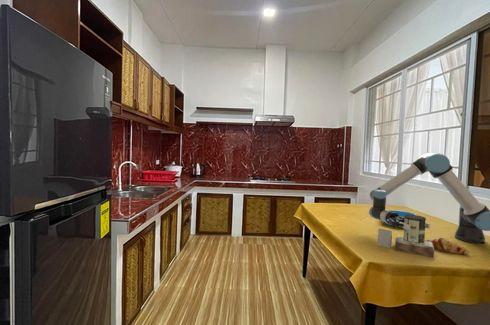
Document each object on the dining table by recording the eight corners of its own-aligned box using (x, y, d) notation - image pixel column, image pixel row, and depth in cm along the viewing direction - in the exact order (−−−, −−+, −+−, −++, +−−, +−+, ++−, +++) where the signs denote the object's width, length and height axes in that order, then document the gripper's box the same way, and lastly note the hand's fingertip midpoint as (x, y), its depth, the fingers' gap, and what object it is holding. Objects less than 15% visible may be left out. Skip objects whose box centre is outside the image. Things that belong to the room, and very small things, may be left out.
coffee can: (419, 239, 154) (420, 215, 153) (428, 245, 144) (429, 219, 143) (400, 237, 156) (401, 214, 155) (407, 243, 146) (408, 218, 145)
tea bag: (390, 248, 152) (391, 231, 152) (377, 245, 156) (378, 229, 156) (391, 247, 155) (392, 230, 155) (378, 244, 159) (379, 227, 159)
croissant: (469, 260, 147) (470, 246, 150) (468, 256, 140) (470, 241, 143) (423, 249, 162) (425, 236, 164) (421, 245, 155) (423, 231, 157)
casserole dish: (415, 231, 189) (416, 221, 189) (381, 226, 201) (381, 216, 201) (416, 220, 220) (416, 212, 220) (385, 216, 232) (386, 208, 232)
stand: (431, 250, 150) (432, 241, 150) (433, 257, 141) (434, 247, 141) (395, 244, 159) (395, 235, 159) (394, 250, 150) (395, 241, 150)
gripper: (406, 222, 170) (437, 232, 150) (372, 224, 164) (400, 234, 144) (406, 210, 170) (437, 219, 149) (373, 212, 164) (400, 220, 143)
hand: (419, 226), depth 146 cm, fingers open, 13 cm apart
